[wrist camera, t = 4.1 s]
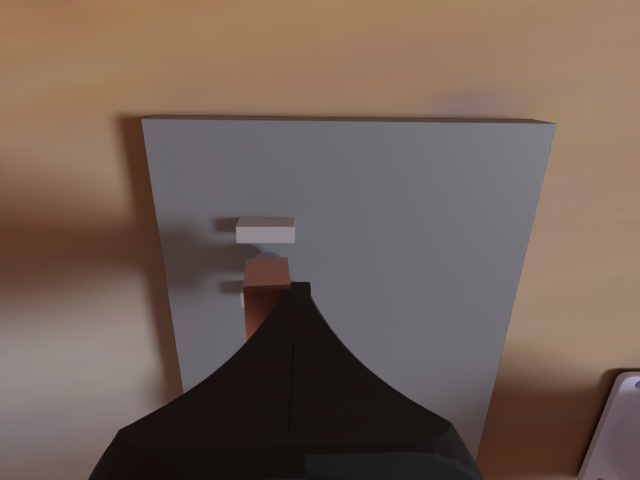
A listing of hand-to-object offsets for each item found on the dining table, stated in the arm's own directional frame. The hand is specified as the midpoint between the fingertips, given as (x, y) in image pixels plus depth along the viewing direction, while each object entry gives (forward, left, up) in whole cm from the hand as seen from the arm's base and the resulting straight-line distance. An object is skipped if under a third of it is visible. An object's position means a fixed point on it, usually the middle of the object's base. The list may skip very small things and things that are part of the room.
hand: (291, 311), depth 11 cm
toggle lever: (+1, 0, -3) cm, 4 cm away
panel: (-2, +7, -5) cm, 9 cm away
